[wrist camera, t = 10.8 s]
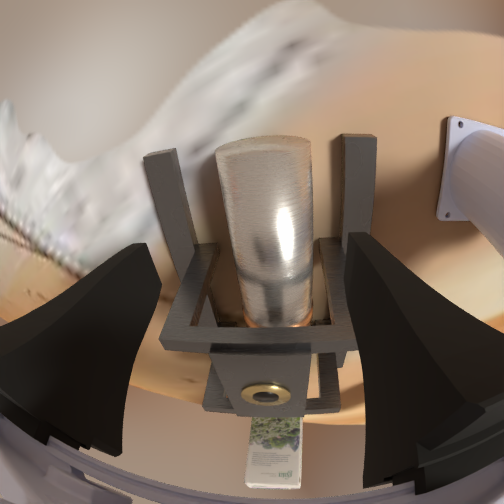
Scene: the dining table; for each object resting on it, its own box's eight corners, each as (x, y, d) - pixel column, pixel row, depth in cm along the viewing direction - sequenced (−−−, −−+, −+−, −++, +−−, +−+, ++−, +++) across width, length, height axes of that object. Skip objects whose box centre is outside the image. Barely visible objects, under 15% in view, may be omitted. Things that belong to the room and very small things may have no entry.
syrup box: (262, 395, 35) (253, 489, 23) (255, 376, 31) (243, 485, 19) (302, 393, 34) (300, 489, 22) (301, 374, 30) (299, 487, 18)
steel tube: (215, 142, 15) (209, 163, 11) (298, 132, 16) (326, 150, 11) (252, 347, 27) (257, 391, 22) (302, 339, 27) (313, 382, 22)
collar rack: (371, 134, 14) (457, 197, 7) (341, 360, 28) (348, 437, 20) (149, 153, 16) (56, 223, 9) (216, 362, 30) (202, 436, 22)
